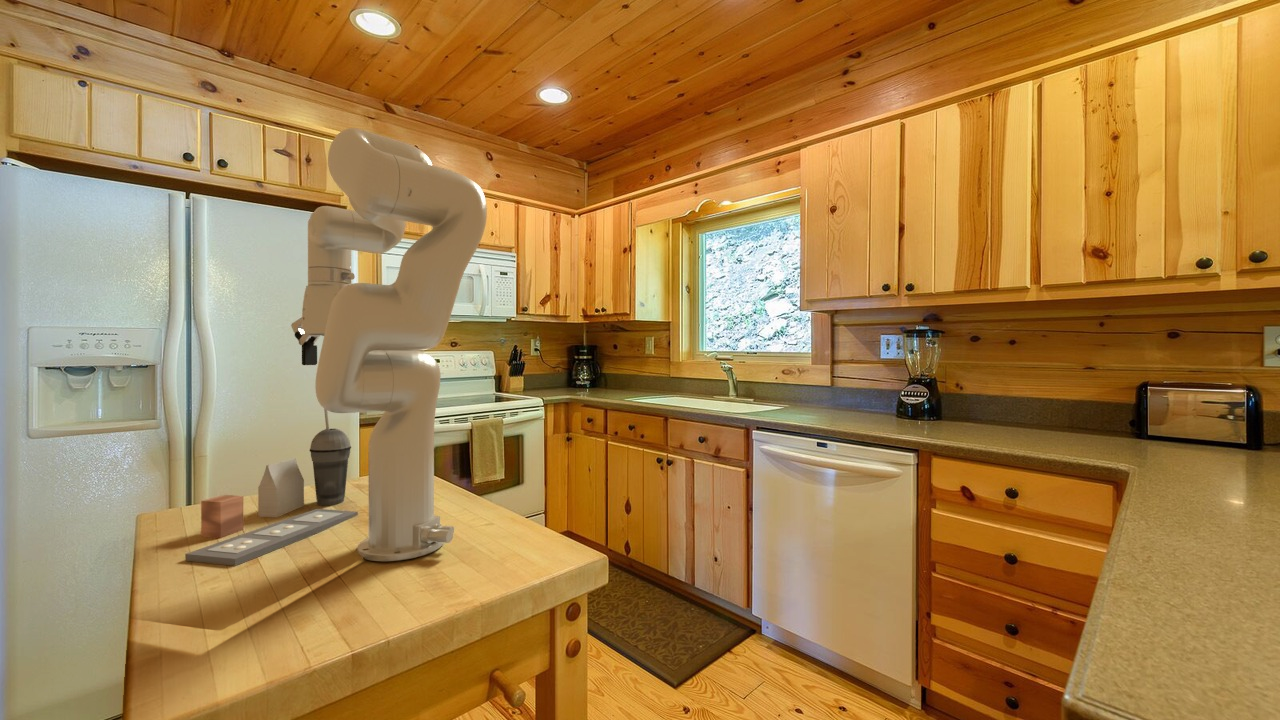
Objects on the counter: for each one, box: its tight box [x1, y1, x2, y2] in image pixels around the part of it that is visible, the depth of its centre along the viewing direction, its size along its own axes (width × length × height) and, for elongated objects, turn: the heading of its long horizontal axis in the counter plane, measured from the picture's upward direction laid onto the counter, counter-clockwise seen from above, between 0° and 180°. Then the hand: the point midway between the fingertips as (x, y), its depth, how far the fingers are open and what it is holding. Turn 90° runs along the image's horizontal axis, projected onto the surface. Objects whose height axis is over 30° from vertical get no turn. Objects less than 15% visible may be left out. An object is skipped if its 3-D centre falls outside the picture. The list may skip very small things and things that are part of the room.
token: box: [200, 494, 244, 539], centre depth 91 cm, size 4×4×6 cm
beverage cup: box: [309, 408, 352, 507], centre depth 107 cm, size 7×7×20 cm
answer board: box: [184, 508, 359, 567], centre depth 89 cm, size 9×24×1 cm, turn 168°
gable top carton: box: [257, 458, 305, 518], centre depth 102 cm, size 4×7×10 cm, turn 173°
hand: (330, 365), depth 107 cm, fingers open, 9 cm apart
